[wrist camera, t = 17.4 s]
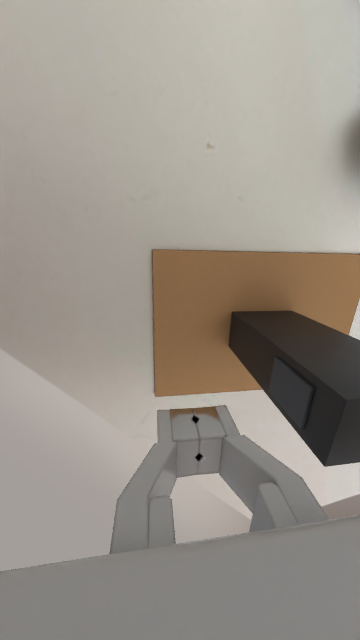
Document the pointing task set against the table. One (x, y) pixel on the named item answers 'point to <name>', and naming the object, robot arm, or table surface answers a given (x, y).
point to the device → (305, 377)
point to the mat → (237, 308)
